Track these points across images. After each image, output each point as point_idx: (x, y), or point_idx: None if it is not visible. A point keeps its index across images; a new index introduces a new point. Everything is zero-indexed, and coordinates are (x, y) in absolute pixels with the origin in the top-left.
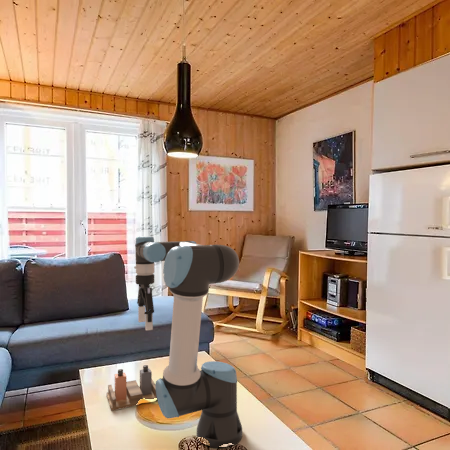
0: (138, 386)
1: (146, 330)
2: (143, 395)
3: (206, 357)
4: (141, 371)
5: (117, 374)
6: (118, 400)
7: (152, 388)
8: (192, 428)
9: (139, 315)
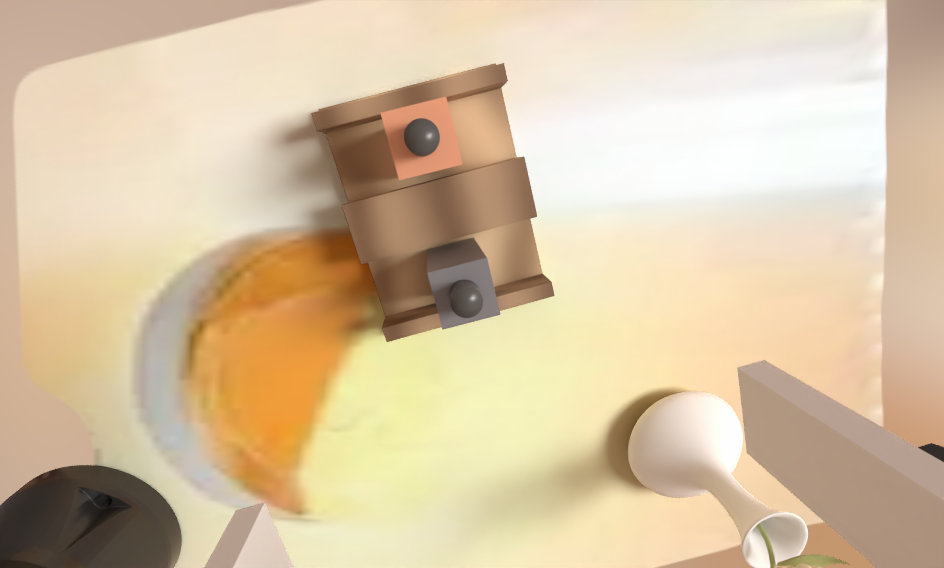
0: (453, 237)
1: (238, 519)
2: None
3: None
4: (458, 270)
5: (437, 117)
6: None
7: None
8: (145, 451)
9: (830, 439)
